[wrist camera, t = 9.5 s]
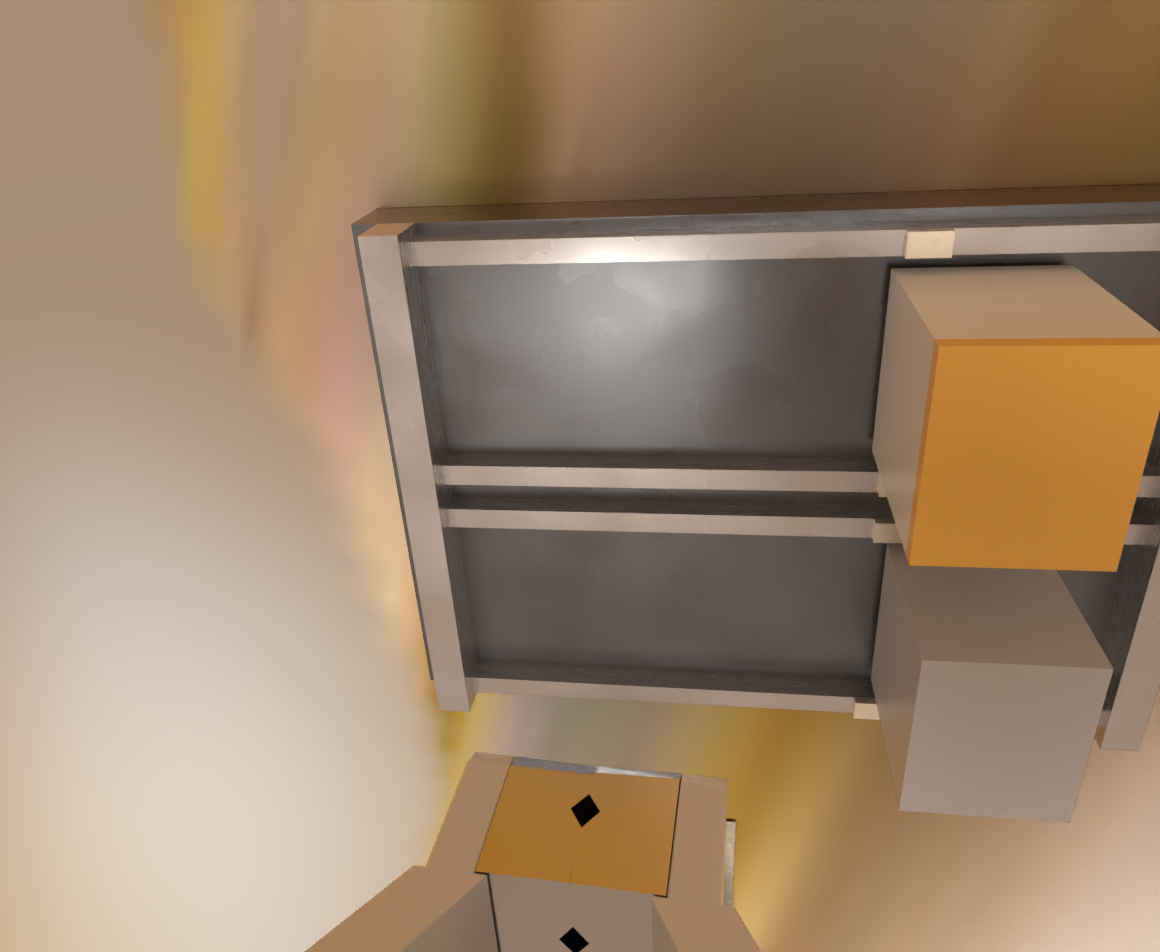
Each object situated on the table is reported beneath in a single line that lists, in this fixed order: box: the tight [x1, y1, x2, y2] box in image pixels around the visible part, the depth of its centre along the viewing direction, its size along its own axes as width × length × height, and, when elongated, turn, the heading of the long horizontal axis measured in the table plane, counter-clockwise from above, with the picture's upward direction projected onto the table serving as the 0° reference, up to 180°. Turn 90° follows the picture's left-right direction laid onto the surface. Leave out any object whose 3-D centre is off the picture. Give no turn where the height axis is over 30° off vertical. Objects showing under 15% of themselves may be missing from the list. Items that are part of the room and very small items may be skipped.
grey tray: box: [351, 184, 1160, 751], centre depth 25 cm, size 22×15×3 cm
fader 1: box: [872, 265, 1160, 572], centre depth 19 cm, size 4×5×5 cm
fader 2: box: [871, 543, 1113, 823], centre depth 23 cm, size 4×5×5 cm
